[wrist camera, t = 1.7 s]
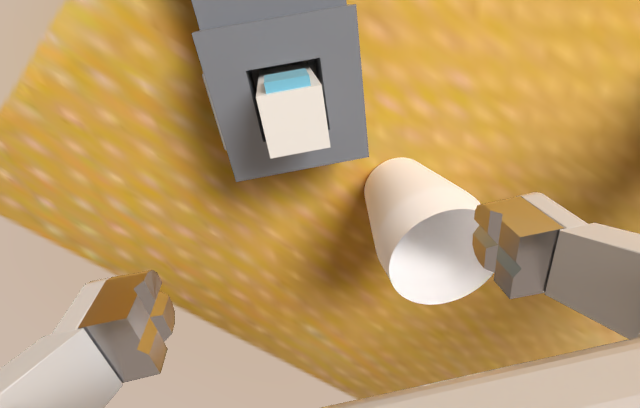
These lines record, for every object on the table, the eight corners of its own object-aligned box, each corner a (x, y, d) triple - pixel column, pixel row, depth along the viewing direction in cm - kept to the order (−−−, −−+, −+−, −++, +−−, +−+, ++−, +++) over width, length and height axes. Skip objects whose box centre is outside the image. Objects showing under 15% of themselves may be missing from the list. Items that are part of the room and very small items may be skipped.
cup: (456, 172, 36) (532, 239, 26) (400, 237, 39) (448, 320, 29) (389, 127, 33) (445, 184, 22) (334, 201, 36) (361, 281, 26)
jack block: (317, -175, 22) (335, -242, 16) (350, 128, 32) (368, 156, 26) (156, -150, 22) (114, -209, 16) (240, 149, 32) (233, 182, 26)
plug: (304, 53, 26) (320, 73, 18) (313, 108, 28) (330, 147, 20) (257, 62, 26) (253, 86, 18) (269, 116, 28) (270, 158, 20)
